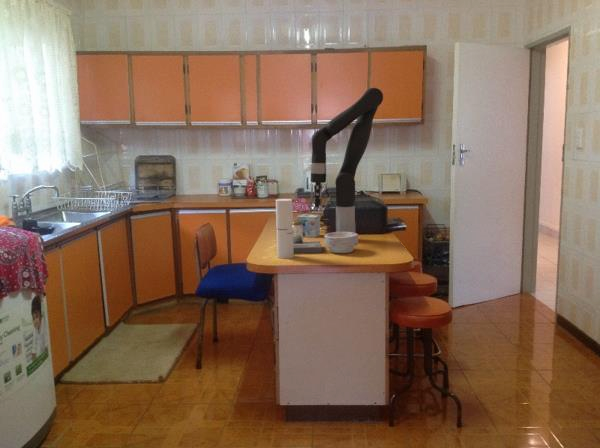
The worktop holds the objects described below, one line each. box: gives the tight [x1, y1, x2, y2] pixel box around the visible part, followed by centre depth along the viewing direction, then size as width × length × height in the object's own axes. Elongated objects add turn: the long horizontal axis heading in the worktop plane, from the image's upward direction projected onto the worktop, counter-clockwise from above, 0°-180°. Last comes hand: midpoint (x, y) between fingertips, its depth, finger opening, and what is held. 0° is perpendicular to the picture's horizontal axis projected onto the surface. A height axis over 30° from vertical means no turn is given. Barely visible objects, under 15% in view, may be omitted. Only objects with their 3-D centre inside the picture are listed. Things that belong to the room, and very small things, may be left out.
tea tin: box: [293, 220, 304, 244], centre depth 253 cm, size 6×6×10 cm
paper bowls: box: [323, 231, 359, 254], centre depth 246 cm, size 15×15×8 cm
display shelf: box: [293, 240, 323, 254], centre depth 251 cm, size 17×13×4 cm
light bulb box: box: [296, 213, 321, 238], centre depth 283 cm, size 11×7×11 cm, turn 68°
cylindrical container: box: [275, 198, 295, 259], centre depth 237 cm, size 7×7×25 cm
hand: (317, 205), depth 267 cm, fingers open, 8 cm apart
